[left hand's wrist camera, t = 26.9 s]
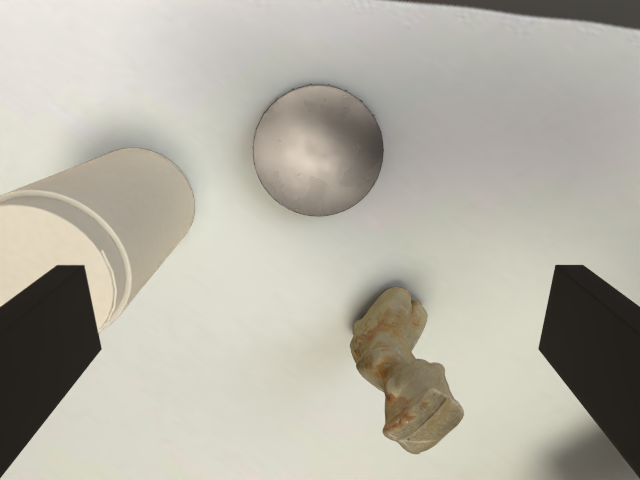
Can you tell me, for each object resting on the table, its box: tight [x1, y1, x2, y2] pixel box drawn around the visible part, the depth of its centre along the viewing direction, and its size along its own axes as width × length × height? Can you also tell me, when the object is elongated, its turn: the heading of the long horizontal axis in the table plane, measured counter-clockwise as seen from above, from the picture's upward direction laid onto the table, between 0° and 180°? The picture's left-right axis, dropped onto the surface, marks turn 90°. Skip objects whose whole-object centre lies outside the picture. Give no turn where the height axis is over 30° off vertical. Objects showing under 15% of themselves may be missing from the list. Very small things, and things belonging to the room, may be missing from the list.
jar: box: [0, 148, 195, 334], centre depth 31 cm, size 9×9×16 cm
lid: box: [253, 84, 384, 216], centre depth 36 cm, size 10×10×2 cm
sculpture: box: [350, 287, 464, 454], centre depth 36 cm, size 6×7×15 cm
